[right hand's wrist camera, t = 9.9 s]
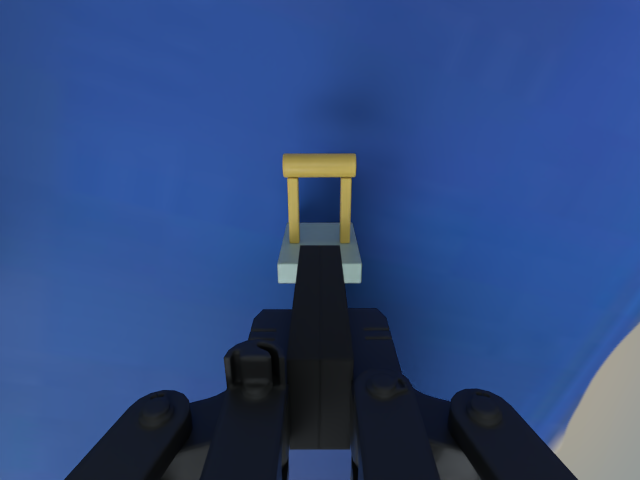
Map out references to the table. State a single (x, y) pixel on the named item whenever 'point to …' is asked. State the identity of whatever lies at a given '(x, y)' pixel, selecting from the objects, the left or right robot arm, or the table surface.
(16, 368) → the table surface
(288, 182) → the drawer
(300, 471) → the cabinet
